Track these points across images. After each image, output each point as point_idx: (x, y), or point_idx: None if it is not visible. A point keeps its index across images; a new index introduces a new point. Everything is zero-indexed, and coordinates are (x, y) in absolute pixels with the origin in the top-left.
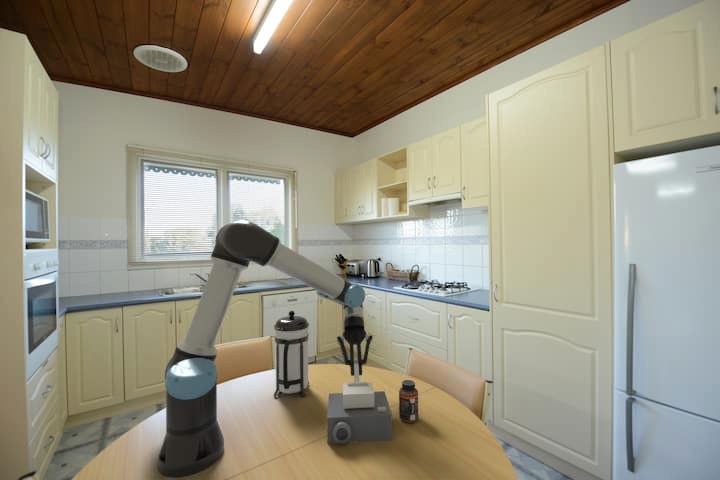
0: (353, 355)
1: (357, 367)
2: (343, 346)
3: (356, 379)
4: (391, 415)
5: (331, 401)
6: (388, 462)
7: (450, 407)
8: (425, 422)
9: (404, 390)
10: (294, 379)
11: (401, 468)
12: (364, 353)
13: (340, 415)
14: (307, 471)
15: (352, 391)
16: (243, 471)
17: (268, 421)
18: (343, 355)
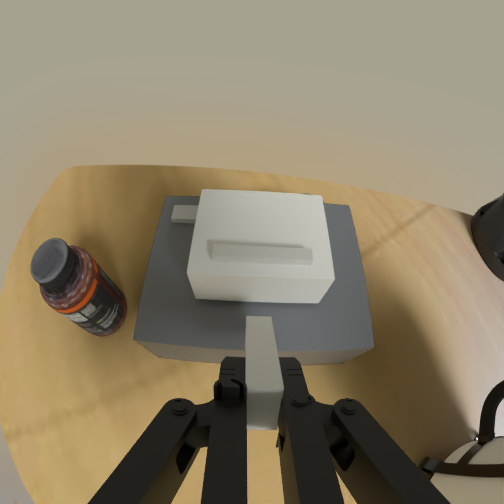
0: (294, 446)
1: (255, 367)
2: (421, 501)
3: (262, 325)
4: (167, 197)
5: (356, 286)
6: (207, 185)
7: (7, 332)
8: None
9: (77, 256)
10: (481, 450)
11: (190, 174)
12: (169, 454)
13: None
14: (348, 188)
15: (287, 209)
16: (432, 206)
17: (466, 333)
18: (387, 445)
